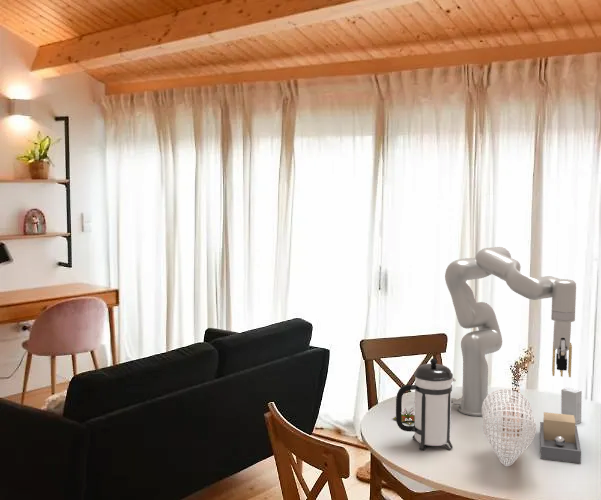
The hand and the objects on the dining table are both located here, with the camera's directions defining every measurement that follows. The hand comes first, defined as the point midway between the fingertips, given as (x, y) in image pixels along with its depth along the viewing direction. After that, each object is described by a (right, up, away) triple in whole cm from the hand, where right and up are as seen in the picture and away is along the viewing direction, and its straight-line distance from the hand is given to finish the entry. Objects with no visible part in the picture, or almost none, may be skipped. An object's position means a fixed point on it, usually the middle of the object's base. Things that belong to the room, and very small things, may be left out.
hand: (561, 367), depth 233 cm
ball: (-3, -24, -5) cm, 25 cm away
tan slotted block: (0, -3, 0) cm, 3 cm away
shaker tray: (-2, -26, -4) cm, 27 cm away
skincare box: (+11, -24, +21) cm, 34 cm away
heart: (-25, -28, -18) cm, 42 cm away
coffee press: (-46, -26, -2) cm, 53 cm away
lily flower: (-49, -24, +23) cm, 59 cm away
